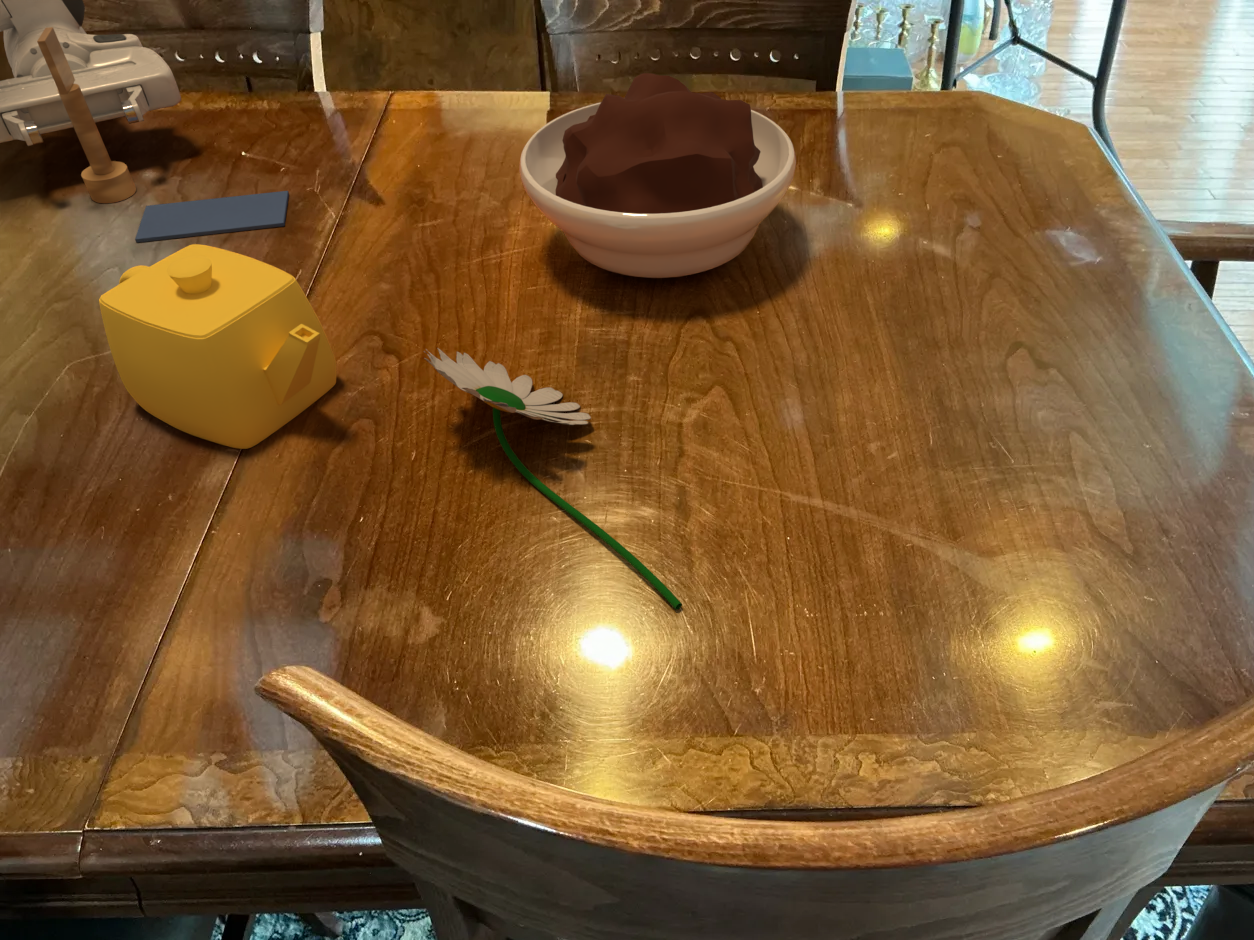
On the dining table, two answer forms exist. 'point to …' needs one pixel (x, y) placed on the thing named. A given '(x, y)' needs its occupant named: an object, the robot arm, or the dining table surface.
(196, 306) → the teapot
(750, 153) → the bowl of brown chunks
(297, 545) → the dining table surface
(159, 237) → the blue-grey rectangular slab
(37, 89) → the robot arm
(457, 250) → the dining table surface
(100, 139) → the wooden peg
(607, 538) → the flower
